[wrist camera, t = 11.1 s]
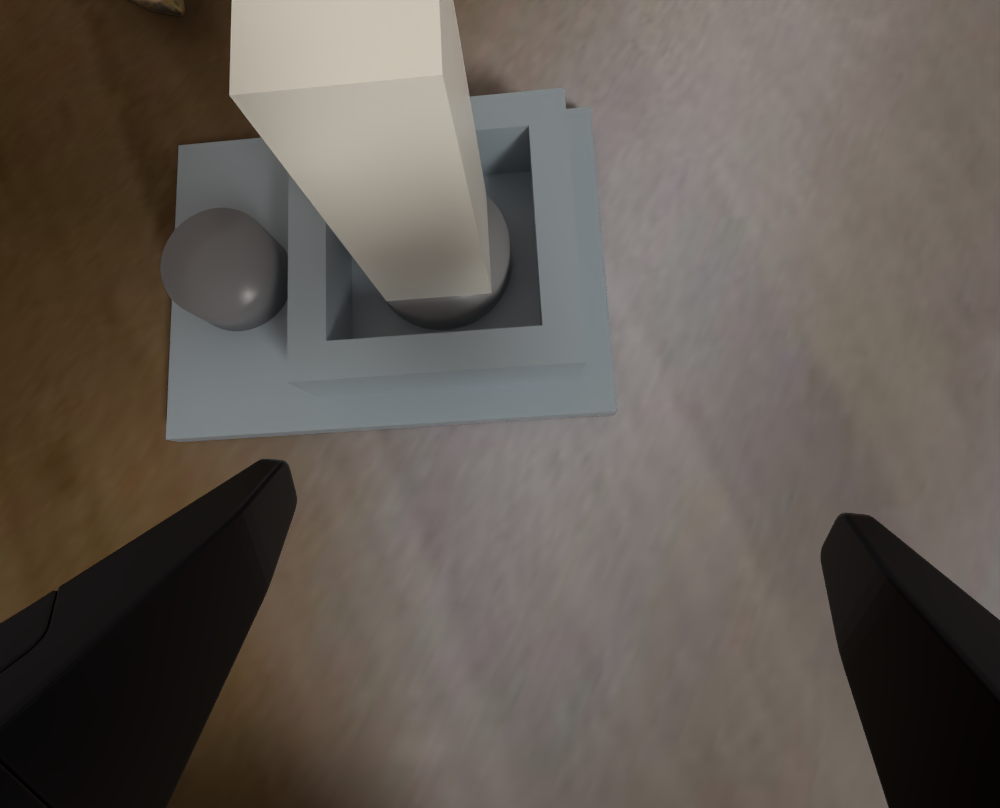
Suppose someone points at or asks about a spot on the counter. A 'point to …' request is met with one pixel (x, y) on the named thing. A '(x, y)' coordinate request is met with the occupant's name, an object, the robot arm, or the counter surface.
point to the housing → (364, 312)
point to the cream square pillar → (379, 143)
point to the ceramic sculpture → (163, 6)
